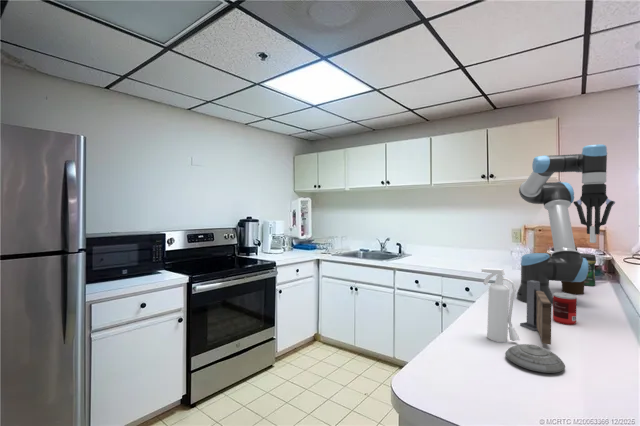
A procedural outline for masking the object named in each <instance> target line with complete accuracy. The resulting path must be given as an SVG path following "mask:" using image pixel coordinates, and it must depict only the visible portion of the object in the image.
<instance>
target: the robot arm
mask: <svg viewBox="0 0 640 426" xmlns="http://www.w3.org/2000/svg"><path fill="white" fill-rule="evenodd" d="M607 151H608V149H607V145H605V144H602V143H600V144H598V143H597V144H590V145H589V144H588V145H585V146H583V147H582V152H581V153H578V154H577V153H576V154H575V153H574V154H559V155H558V154H557V155H555V154H554V155H552V154H551V155H550V154H549V155H539V156H535V157H534V158H533V160H532V172H531V173H530V175H529V176H528V178H526V180H525V181H523V182H522V183H521V184H520V186H519V188H518V193H519V196H520V198H521V199H522V200H524V201H525V202H527V203H530V204H532V205H533V204H535V205H543V208H544V209H545V210H546V211H547V212H548V213H547V214H548V219H549V226H550V232H551V239H552V244H553V252H552V253H551V254H549V253H544V252H532V253H526V254H523V255H522V256H521V260H520V265H521V266H520V285H519V288H518V291H516V292H517V293H516V299H517V300H518V301H521V302H523V303H527V281H530V280H534V281H538V282H540V291H542V292H544V293H545V295H546V296H547V298H548V300H549V301H550V303H551V305H553V294H552V291H551V289H550V281H554V282H555V281H556V282H561V281H567V282H582V281H584V280H585V279H586V277H587V274H588V261H587V259H586V258H581V254H580V253H581V252H579V251H578V250H577V251H576V249H575V247H576V245H575V239H574V234H573V233H574V232H573V227H572V222H571V217H570V211H569V208H570V207H571V206H572V203H573V205H574V206H575V207H576V210H577V214H578V217H579V221H580V224H581V225H584V226H586V235H589V243H591V244H596V243H597V235H600V231H601V229H600V228H601V226H605V225H607V221H608V219H609V215H610V214H611V213H610V212H611V211H612V207H613V206H614V205H615V204H616V201H614V200H611V199H609V197H608V196H607V184H605V183H607V163H608V162H607V160H608V152H607ZM554 173H581V183H582V185H581V195H580V198H579V199H577V200H576V201H575V192H574V188H573V186H572V184H570V183H569V182H567V181H565V182H564V181H562V182H561V181H557V182H556V181H555V182H553V181H552V182H551V181H550V182H548V180H549V179H550V178H551V176H553V175H554ZM582 204H584V205H585V207H586V216H585V214H584V210H583V206H582ZM604 204H605V205H606V206H605V208H604V209H605V210H604V212H603V215H602V217H601V207H602V205H604ZM593 208H594V225H593Z"/></svg>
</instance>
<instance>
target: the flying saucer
mask: <svg viewBox="0 0 640 426" xmlns="http://www.w3.org/2000/svg"><path fill="white" fill-rule="evenodd" d="M504 354H505V357H506V358H507V359H508V360H509V361H510V362H512V363H513V364H515V365H517V366H519V367H521V368H524V369H527V370H530V371H534V372H539V373H545V374H546V373H549V374H550V373H551V374H552V373H553V374H554V373H559V372H562V371H564V370H565V368H566V364H565V363H564V361H563V360H562V359H561V357H559V355H557V354H556V353H554V352H553V351H550V350H549V349H548V348H545V347H541V346H539V345H535V344H530V343H529V344H527V343H523V344H521V343H520V344H516V345H512V346H511V347H508V349H507V350H506V351H505V353H504Z"/></svg>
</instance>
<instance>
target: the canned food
mask: <svg viewBox="0 0 640 426" xmlns="http://www.w3.org/2000/svg"><path fill="white" fill-rule="evenodd" d="M552 296H553V303H552V319H553V321H554V322H555V323H557V324H562V325H567V326H572V325H573V326H574V325H576V323H577V295H576V294H569V293H565V292H553V294H552Z"/></svg>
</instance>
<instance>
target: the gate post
mask: <svg viewBox="0 0 640 426" xmlns="http://www.w3.org/2000/svg"><path fill="white" fill-rule="evenodd" d="M538 290H539V291H540V282H538V281H534V280H530V281H527V302H526V321H525V322H521V323H519V326H520V327H522V328H525V329H527V330H530V331H532V332H537V331H538V329H537V296H536V291H538ZM538 332H539V331H538Z"/></svg>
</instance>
